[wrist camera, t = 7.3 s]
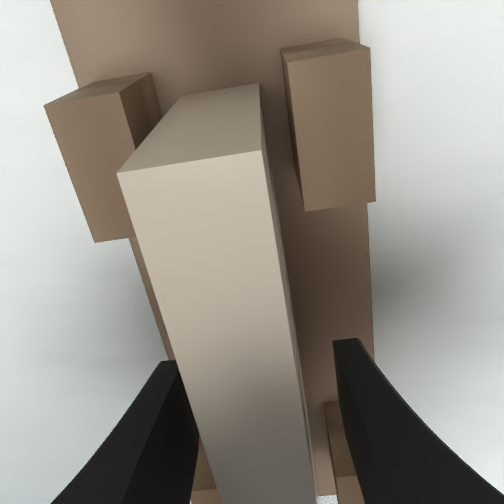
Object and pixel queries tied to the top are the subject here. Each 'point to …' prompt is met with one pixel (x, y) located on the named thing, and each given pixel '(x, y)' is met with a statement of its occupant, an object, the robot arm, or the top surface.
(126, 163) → the clay strip
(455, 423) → the top surface
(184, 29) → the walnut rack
